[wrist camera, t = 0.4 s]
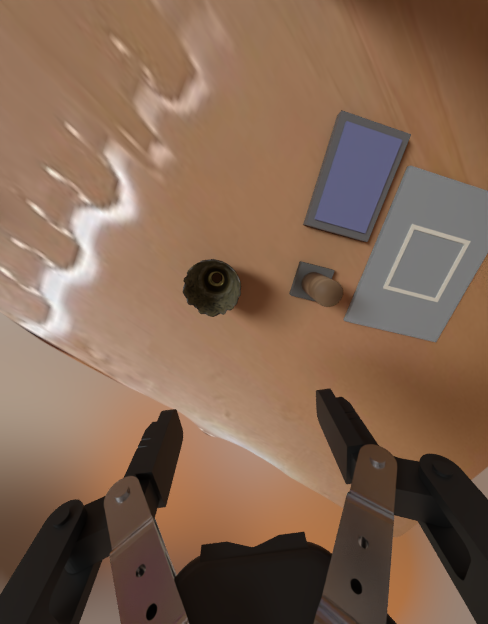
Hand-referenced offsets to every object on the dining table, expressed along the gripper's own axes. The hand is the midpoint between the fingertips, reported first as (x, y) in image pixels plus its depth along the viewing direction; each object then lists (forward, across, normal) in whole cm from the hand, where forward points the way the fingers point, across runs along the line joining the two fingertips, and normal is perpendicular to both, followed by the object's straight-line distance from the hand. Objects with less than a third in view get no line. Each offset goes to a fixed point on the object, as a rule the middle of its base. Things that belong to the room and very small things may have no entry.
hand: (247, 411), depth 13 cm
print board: (+26, -30, 0) cm, 40 cm away
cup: (+26, +3, -3) cm, 27 cm away
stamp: (+26, -12, 0) cm, 29 cm away
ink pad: (+26, -18, -14) cm, 35 cm away
